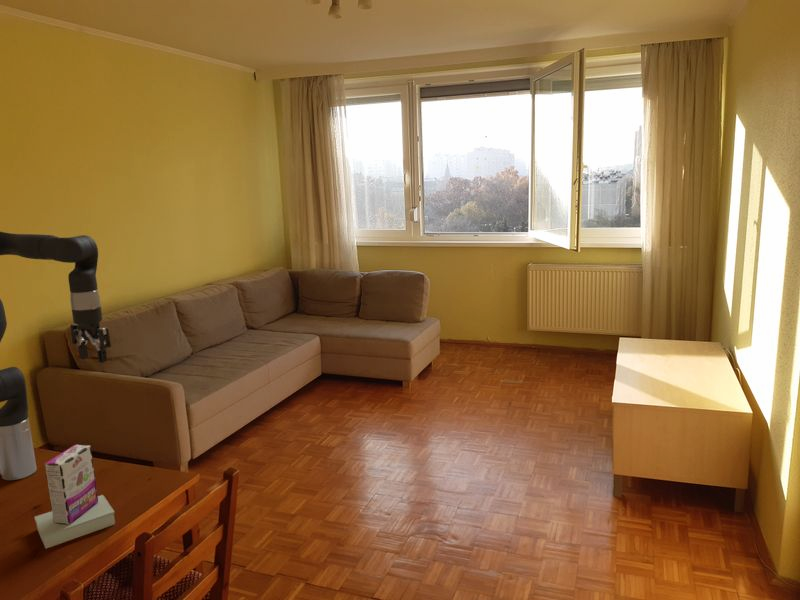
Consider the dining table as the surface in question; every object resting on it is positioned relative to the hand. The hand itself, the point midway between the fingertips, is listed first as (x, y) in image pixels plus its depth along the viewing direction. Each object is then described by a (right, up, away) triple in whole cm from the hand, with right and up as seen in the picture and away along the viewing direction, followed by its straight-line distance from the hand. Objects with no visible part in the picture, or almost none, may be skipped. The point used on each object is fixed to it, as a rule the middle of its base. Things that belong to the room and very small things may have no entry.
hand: (93, 360), depth 179 cm
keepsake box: (+6, -42, -20) cm, 46 cm away
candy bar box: (+6, -38, -20) cm, 43 cm away
